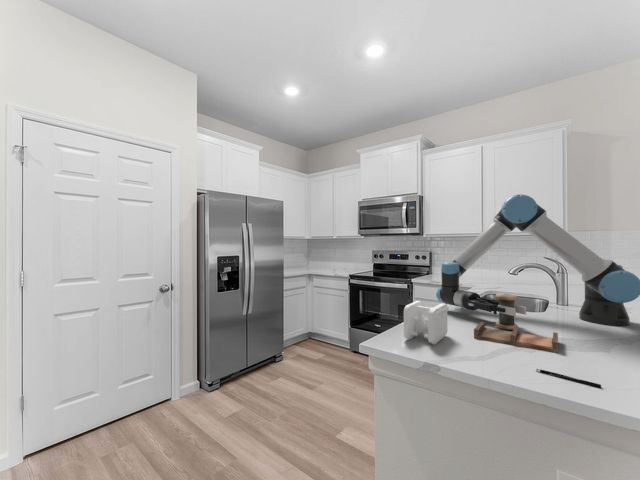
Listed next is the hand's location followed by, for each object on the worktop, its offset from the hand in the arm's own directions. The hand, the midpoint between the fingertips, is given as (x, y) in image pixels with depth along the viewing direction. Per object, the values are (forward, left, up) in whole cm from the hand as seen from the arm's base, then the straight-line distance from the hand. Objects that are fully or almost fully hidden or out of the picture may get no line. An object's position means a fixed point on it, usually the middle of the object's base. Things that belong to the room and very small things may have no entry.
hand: (520, 311), depth 111 cm
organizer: (+25, +27, -8) cm, 38 cm away
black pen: (-12, +37, -8) cm, 40 cm away
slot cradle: (+1, +11, -8) cm, 14 cm away
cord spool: (+5, -3, -7) cm, 9 cm away
